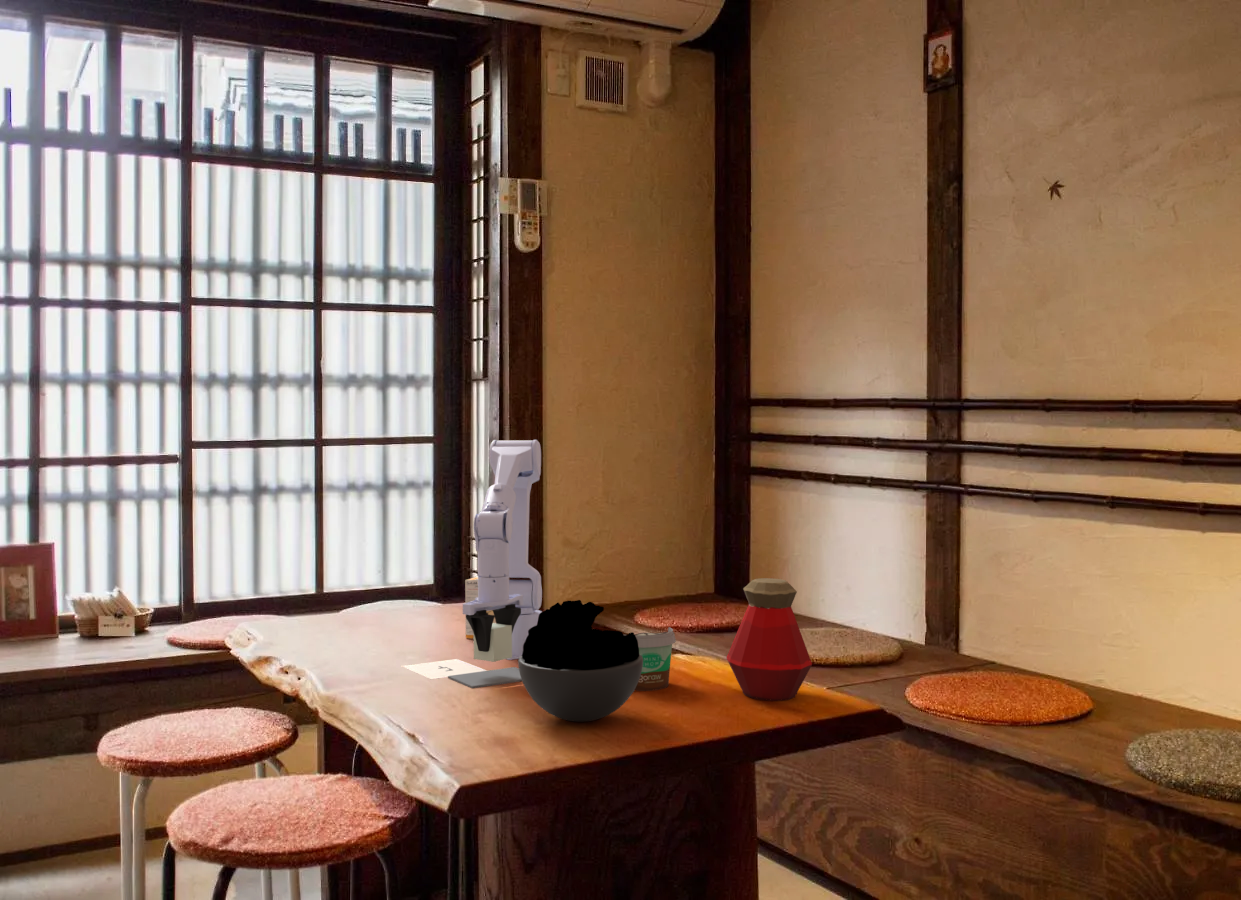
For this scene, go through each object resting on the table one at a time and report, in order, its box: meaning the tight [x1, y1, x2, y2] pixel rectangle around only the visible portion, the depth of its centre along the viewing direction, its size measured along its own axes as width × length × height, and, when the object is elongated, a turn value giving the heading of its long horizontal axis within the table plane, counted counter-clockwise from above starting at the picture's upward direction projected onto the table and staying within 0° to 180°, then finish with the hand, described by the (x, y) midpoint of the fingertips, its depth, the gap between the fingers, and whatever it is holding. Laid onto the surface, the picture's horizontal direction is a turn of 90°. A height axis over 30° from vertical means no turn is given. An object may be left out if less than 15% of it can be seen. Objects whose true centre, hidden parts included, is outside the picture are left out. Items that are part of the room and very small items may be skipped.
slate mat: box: [447, 666, 522, 689], centre depth 216 cm, size 14×10×1 cm
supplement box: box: [464, 575, 496, 640], centre depth 260 cm, size 8×5×13 cm, turn 168°
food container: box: [623, 626, 677, 692], centre depth 209 cm, size 12×6×10 cm, turn 118°
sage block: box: [473, 623, 512, 663], centre depth 216 cm, size 5×5×6 cm
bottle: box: [726, 577, 813, 702], centre depth 203 cm, size 16×14×20 cm
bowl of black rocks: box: [517, 599, 643, 723], centre depth 186 cm, size 20×20×19 cm
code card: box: [401, 658, 488, 680], centre depth 225 cm, size 12×14×1 cm
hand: (493, 648), depth 216 cm, fingers closed on sage block, 5 cm apart
